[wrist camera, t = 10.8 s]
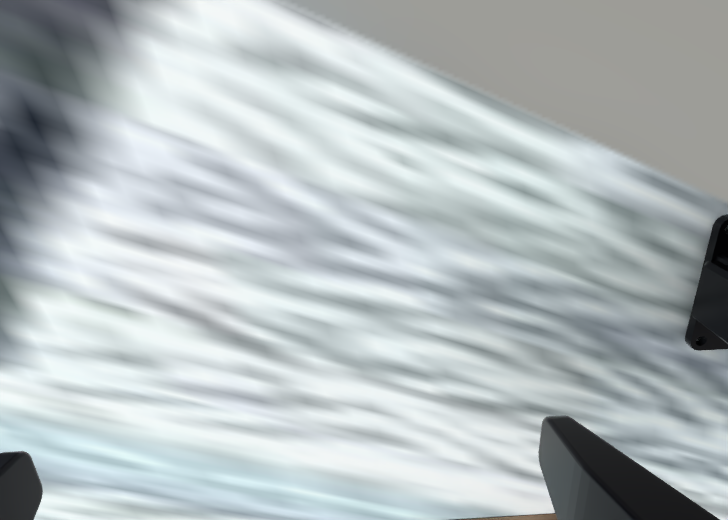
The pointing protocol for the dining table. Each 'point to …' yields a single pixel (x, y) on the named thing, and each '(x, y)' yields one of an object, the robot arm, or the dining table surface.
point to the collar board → (522, 517)
